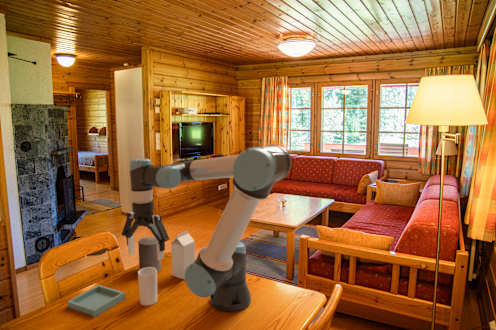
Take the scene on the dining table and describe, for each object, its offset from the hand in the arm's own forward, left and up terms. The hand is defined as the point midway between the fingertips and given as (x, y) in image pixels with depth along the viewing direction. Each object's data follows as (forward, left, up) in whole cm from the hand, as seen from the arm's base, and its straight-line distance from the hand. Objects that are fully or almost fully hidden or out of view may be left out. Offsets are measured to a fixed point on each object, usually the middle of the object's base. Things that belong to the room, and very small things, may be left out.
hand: (146, 256), depth 130 cm
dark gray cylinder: (+17, -20, -17) cm, 31 cm away
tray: (+15, +11, -17) cm, 25 cm away
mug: (-1, 0, -17) cm, 17 cm away
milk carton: (0, -22, -17) cm, 28 cm away
